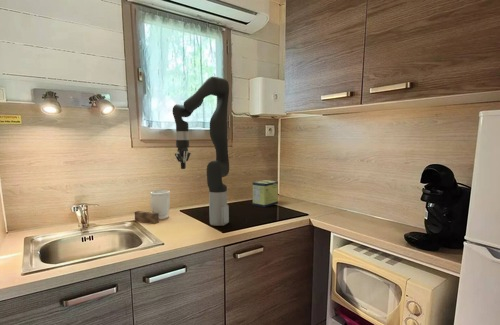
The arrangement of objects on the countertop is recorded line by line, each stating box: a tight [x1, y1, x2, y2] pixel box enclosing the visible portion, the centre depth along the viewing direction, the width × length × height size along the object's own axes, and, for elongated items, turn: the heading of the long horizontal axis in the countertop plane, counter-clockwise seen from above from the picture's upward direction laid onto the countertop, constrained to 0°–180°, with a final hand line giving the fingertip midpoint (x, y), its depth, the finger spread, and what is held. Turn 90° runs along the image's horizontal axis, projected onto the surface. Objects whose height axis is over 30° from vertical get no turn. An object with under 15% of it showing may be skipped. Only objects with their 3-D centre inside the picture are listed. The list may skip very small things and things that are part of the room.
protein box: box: [252, 179, 279, 208], centre depth 185 cm, size 10×16×16 cm
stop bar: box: [134, 210, 160, 225], centre depth 147 cm, size 14×2×5 cm, turn 69°
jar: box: [149, 189, 171, 220], centre depth 154 cm, size 11×10×15 cm
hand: (183, 168), depth 160 cm, fingers closed
